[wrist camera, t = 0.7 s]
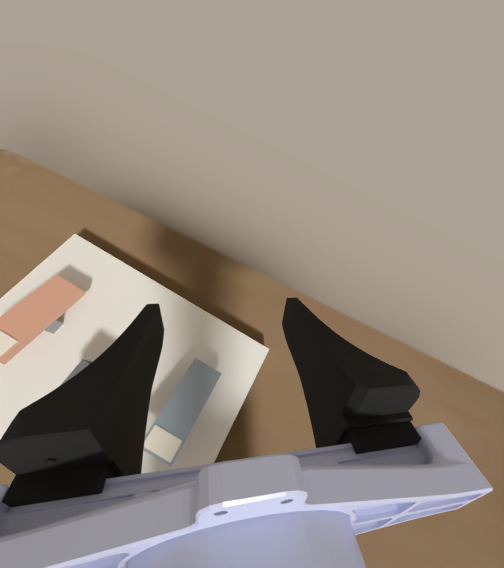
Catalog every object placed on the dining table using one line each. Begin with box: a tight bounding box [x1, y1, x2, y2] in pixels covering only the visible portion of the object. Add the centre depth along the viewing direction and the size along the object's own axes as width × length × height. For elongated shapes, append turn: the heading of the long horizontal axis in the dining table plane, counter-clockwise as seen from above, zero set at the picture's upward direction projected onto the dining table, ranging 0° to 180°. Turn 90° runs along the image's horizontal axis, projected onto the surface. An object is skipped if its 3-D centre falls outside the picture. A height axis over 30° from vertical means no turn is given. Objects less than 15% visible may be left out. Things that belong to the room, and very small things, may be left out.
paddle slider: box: [60, 359, 92, 386], centre depth 21 cm, size 2×3×3 cm
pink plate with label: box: [0, 275, 85, 365], centre depth 22 cm, size 8×3×1 cm, turn 151°
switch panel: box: [0, 234, 269, 474], centre depth 24 cm, size 18×26×3 cm
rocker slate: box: [144, 358, 222, 467], centre depth 21 cm, size 8×3×1 cm, turn 151°
